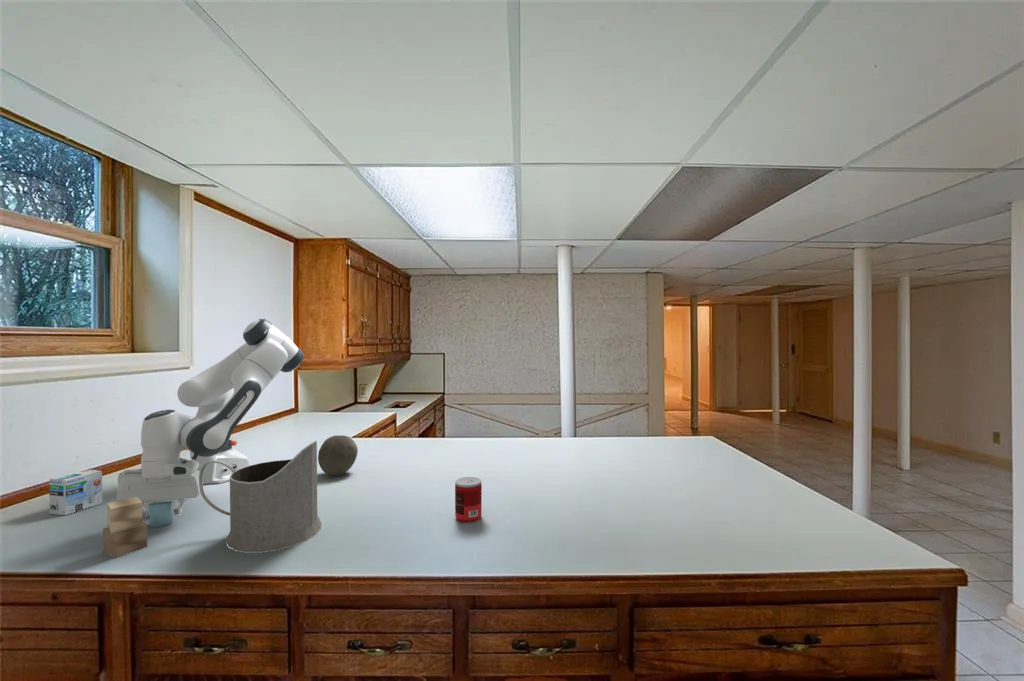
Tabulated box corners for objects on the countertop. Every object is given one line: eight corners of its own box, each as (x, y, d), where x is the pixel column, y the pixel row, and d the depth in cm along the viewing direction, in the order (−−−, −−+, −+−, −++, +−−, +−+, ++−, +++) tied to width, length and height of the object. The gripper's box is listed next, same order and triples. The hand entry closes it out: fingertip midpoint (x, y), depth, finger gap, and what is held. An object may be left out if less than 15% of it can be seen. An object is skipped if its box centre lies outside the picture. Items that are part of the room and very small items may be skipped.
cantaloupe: (349, 480, 172) (349, 440, 171) (311, 480, 172) (311, 440, 171) (362, 469, 186) (362, 432, 185) (327, 469, 186) (327, 432, 186)
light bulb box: (65, 516, 138) (65, 480, 138) (48, 514, 139) (47, 479, 139) (103, 503, 148) (103, 470, 148) (87, 501, 150) (86, 468, 150)
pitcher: (301, 552, 115) (300, 452, 115) (170, 555, 114) (169, 454, 113) (333, 515, 138) (332, 432, 138) (224, 517, 137) (224, 433, 136)
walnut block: (134, 542, 121) (133, 519, 121) (146, 547, 118) (146, 524, 118) (103, 552, 115) (102, 528, 115) (115, 558, 112) (115, 533, 112)
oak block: (138, 519, 121) (137, 496, 121) (142, 525, 117) (142, 502, 117) (107, 526, 116) (107, 502, 116) (111, 533, 112) (110, 509, 112)
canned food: (485, 514, 139) (485, 478, 139) (474, 524, 131) (474, 486, 131) (462, 511, 141) (462, 475, 141) (450, 521, 134) (450, 483, 134)
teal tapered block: (168, 518, 136) (167, 498, 136) (175, 522, 133) (175, 501, 133) (147, 524, 132) (146, 504, 132) (154, 528, 129) (153, 507, 129)
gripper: (111, 473, 126) (112, 523, 127) (196, 467, 132) (197, 515, 132) (123, 467, 133) (124, 515, 133) (205, 462, 138) (205, 507, 138)
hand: (161, 515), depth 132 cm, fingers open, 7 cm apart
